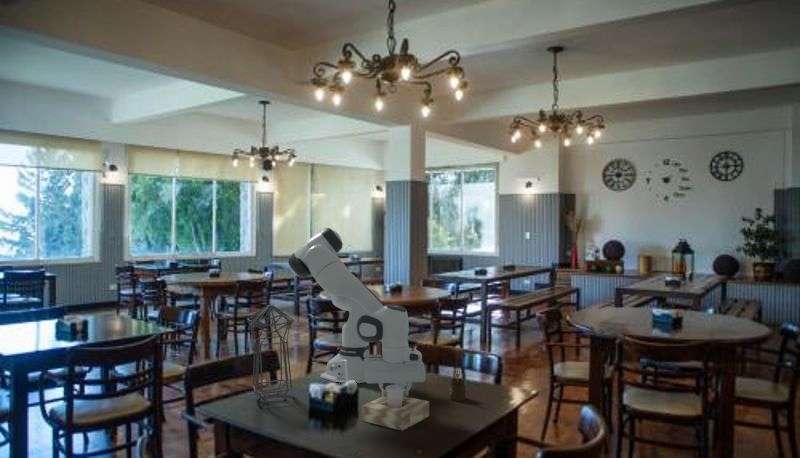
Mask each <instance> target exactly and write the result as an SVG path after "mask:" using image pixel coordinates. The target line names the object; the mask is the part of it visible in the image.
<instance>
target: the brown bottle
mask: <svg viewBox="0 0 800 458" xmlns="http://www.w3.org/2000/svg"><path fill="white" fill-rule="evenodd" d="M461 371H462V370H461V368H458V367H457V368H455V369H454V375H455V378H451V379H450V384H449V389H448V390H449V399H450V401H453V402H455V401H456V402H462V401H464V400H465V399H466V395H467V394H466V385H465V383H466V382H465V379H463V378H461ZM465 401H466V400H465Z"/></svg>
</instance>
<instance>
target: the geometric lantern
mask: <svg viewBox="0 0 800 458" xmlns="http://www.w3.org/2000/svg"><path fill="white" fill-rule="evenodd" d="M274 312H276V313H277V315H275V314H274ZM265 313H266V315H265ZM270 313H271V317H270ZM278 314H279V315H278ZM264 315H265V317H264ZM275 318H277V319H275ZM282 318H284V319H285V320H286V321H284V322H279V323H277V322H278V321H279V320H280V319H282ZM245 320H246V321H247V324H248V326H249V330H250V331H251V334H252V336H253V362H252V363H253V370H252V387H253V390H254V393H255V394H256V395H257V396H259V400H261V402H262V403H263V404H269V403H276V401H277V402H284V400H285V401H286V400H287V393H288V392H289V391H290V390H291V389H293V383H292V374H291V363H290V352H289V351H290V350H289V343H288V342H289V341H288V340H289V334H290V333H289V331H290V329H291V326H292V325H293V323H294V322H295V320H294V319H293V318H291V317H290V316H289V315H288V314H287V313H285V312H284V311H282V310H280V309H279V308H278V307H276V306H274V305H273V304H268V305H265V306H264V307H262V308H261V309H259V310H257V311H256V312H255V313H253V314H252V315H250V316H248V317H247V318H246V319H245ZM260 320H264V323H263V322H261V321H260ZM270 320H272V323H271V324H269V321H270ZM280 325H282V326H280ZM277 326H280V327H279V328H278V329H277ZM254 327H256V328H258V329H260V330H261V331H260V333H259V335H258V337H256V333H255V331H254ZM265 327H266V330H265ZM269 327H273V328H274V330H272V331H270V330H269ZM284 327H286V329H285V331H284V333H283V336H282V334H281V333H280V332H279V331H280V330H281V329H283V328H284ZM263 332H264V333H266V335H265V337H261V336H262V333H263ZM274 333H276V334H277V335H276V336H270V337H269V336H268V335H269V334H274ZM286 335H287V337H286ZM274 338H275V339H276V338H279V342H274V343H273V342H272V343H264V344H263V342H264V341H265V339H274ZM260 340H262V341H261V343H260ZM269 345H270V346H272V345H279V352H280V353H279V355H280V379H278V380H277V379H276V380H268V381H263V365H262V364H263V363H262V362H263V361H262V346H269ZM282 352H283V354H282ZM282 356H283V358H282ZM283 362H284V373H285V374H284V375H285V377H284V378H285V379H283ZM259 370H260V371H259ZM259 373H260V374H259ZM259 375H260V379H259ZM259 380H260V382H259ZM277 382H279V387H278V388H272V389H267V390H264V387H263V385H264V384H271V383H277ZM282 382H285V383H284V384H283V385H282V386H281V384H282ZM285 386H286V388H285V389H283V388H284V387H285ZM278 394H279V395H278ZM270 395H271V396H270ZM274 397H283V399H278V400H271V401H270V400H269V401H268V398H274Z"/></svg>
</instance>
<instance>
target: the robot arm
mask: <svg viewBox="0 0 800 458" xmlns="http://www.w3.org/2000/svg"><path fill="white" fill-rule="evenodd" d="M319 231H320V232H318V233H317V234H315V235H313V236H312V237H310V238H308V239H307V241H306V242H305V243H304V244H303V245H301V246H300V247H299V248H298V249H297V250H296V251H294V252H293V253H292V254H291V255H290V257H289V258H288V260H287V261H288V262H287V263H288V265H289V269H290V271H291V272H292V273H293V274H294V275H295V276H297V277H299V278H300V279H306V278H309V277H310V276H312V277H313V278H314V280H315V281H316V282H317V284H318V285H319V286H320V287H321V288H322V289H323V290H324V291H325V292H326V293H328V294H330V297H331V298H330V299H331V300H330V301H331V302H332V304H333V306H335V308H338V309H340V310H342V311H346V312H349V315H348V319H347V321H346V322H345V323H344V324H343V325H342V328H341V330H342V331H341V334H342V335H341V336H342V337H341V339H342V343H341V345H340V346H338V347H337V349H336V350H339V351H338V353H337V355H335V356H334V357H332V358H331V359H330V360H328V361H327V364H326V368H325V371H324V372H322V373H321V374H320V376H319V377H320V378H321V379H324V380H328V381H331V382H333V383H336V382H345V381H347V380H355V381H357V383H356V384H360V383H361V384H363V383H366V384H378V387H379V389H380V391H381V397H383V396H387V392H386V389H384V384H393V383H394V384H396V383H398V384H399V383H400V384H403V383H406V388H404V389H405V391H404V392H403V396H405V397H409V391H410V389H411V387H412V386H413V384H412V383H423V382H425V381H426V379H427V377H426V375H427V374H426V367H425V364H424V362H423V354H422V353H421V352H420V351H419V350H417V349H414V348H411V347H409V341H408V336H409V330H410V327H409V315H408V311H407V309H406V308H405V307H404V306H402V305H400V304H396V303H395V304H393V303H391V304H390V303H389V304H384V302H383V301H382V300H381V295H380V293H379V292H378V291H377V290H376V289H373V288H371V287H369V286H367V285H366V284H365V283H364V282H363V281H361V279H359V278H357V277H356V276H355V275H354V274H353V273H352V272H351V271H350V269H349V267H348V266H346V265H345V263H344V262H343V261H342V260H341V258H340V257H339V256H338V255H337V254H339V252H340V251H341V250H342V248H343V241H342V238H341V236H340V234H339V233H338V232H337V231H335V230H334V229H331V228H330V227H325V228H324V229H322V230H319ZM375 342H380V343H381V353H380V354H379V353H377V354H370V353H371V347H370V343H375Z"/></svg>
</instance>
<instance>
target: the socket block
mask: <svg viewBox="0 0 800 458" xmlns="http://www.w3.org/2000/svg"><path fill="white" fill-rule="evenodd" d="M428 417H430V401H428V400H426V399H425V400H424V399H419V398H415V397H410V396H404V395H403V401H402V407H401V408H394V407H390V406H388V400H387V396H381V397H378V398H376V399H374V400H372V401H369V402H367V403H365V404H362V405H361V421H362V422H366V423H370V424H374V425H379V426H381V427H386V428H390V429H393V430H398V431H405V430H407V429H409V428H410V427H412V426H414V425H416V424H418V423H419V422H422V421H423V420H425V419H427V418H428ZM408 427H409V428H408Z"/></svg>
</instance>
